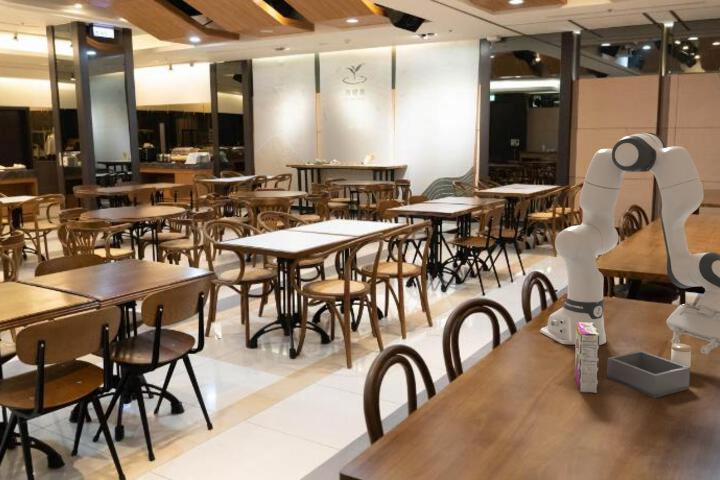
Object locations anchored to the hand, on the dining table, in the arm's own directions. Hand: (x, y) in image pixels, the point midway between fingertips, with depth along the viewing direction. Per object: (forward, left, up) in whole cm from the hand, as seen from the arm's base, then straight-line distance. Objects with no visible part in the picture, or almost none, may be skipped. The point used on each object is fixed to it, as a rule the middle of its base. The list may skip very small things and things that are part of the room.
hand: (688, 347), depth 186 cm
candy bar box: (-6, -33, -7) cm, 34 cm away
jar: (0, -3, -7) cm, 8 cm away
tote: (+1, -17, -7) cm, 19 cm away
